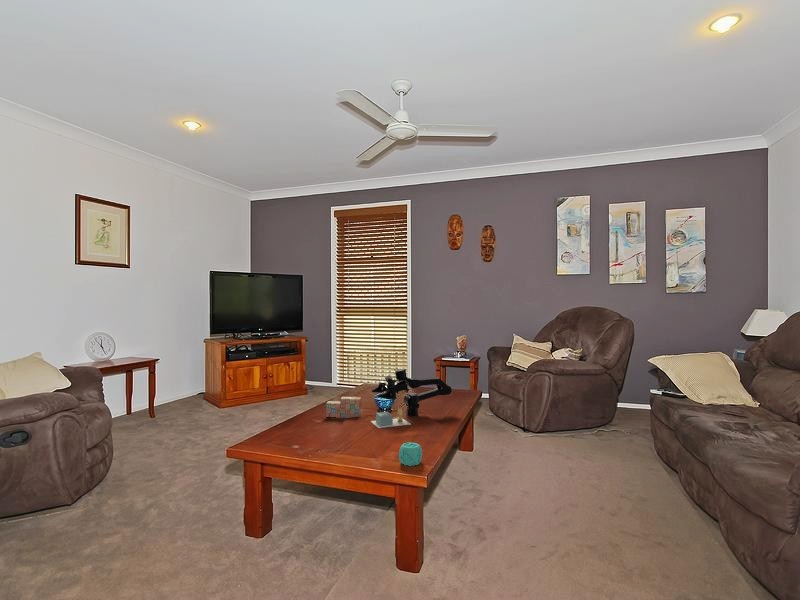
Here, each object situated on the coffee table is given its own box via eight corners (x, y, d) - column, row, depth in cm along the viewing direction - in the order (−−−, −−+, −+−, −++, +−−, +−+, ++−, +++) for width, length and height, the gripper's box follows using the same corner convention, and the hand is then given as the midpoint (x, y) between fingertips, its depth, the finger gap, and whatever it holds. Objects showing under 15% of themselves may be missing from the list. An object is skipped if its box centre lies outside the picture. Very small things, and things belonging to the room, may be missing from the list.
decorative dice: (415, 467, 191) (415, 449, 191) (398, 464, 194) (398, 446, 194) (422, 461, 198) (422, 443, 198) (406, 458, 201) (406, 441, 201)
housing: (387, 420, 259) (387, 411, 259) (392, 424, 251) (392, 415, 251) (375, 422, 257) (375, 412, 257) (380, 426, 248) (380, 416, 248)
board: (401, 420, 266) (401, 414, 266) (411, 426, 252) (411, 420, 252) (370, 423, 259) (370, 417, 259) (378, 430, 245) (378, 424, 245)
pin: (401, 420, 259) (401, 407, 260) (403, 422, 257) (403, 408, 257) (396, 421, 258) (396, 407, 258) (398, 422, 256) (398, 408, 256)
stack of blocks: (325, 418, 272) (325, 398, 272) (328, 415, 278) (328, 396, 278) (359, 418, 270) (359, 399, 270) (361, 416, 276) (361, 396, 276)
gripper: (390, 370, 276) (367, 376, 270) (403, 379, 259) (379, 386, 253) (392, 387, 278) (369, 393, 272) (405, 396, 262) (381, 404, 255)
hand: (374, 393), depth 263 cm, fingers open, 9 cm apart
